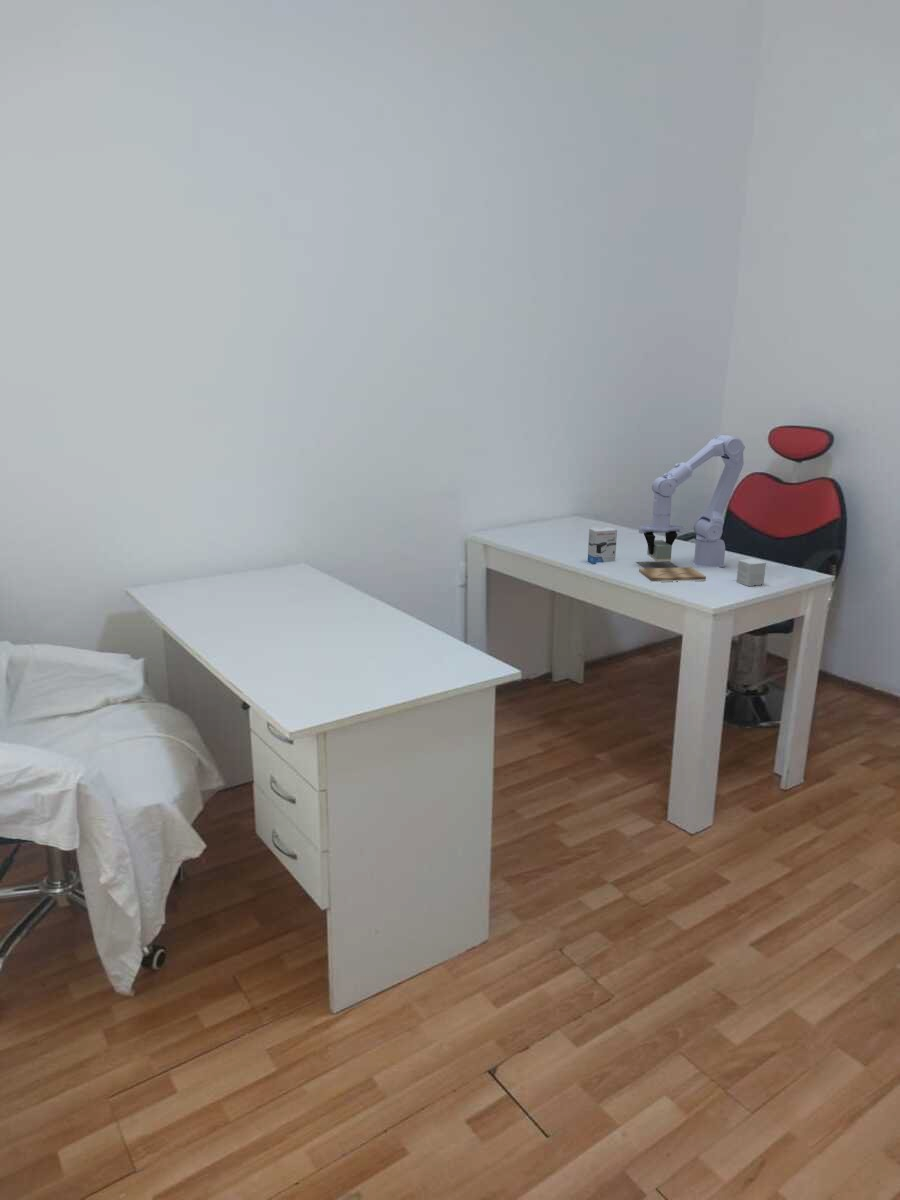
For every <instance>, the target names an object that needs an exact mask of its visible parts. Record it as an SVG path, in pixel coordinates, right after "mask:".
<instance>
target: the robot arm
mask: <svg viewBox="0 0 900 1200" xmlns="http://www.w3.org/2000/svg"><path fill="white" fill-rule="evenodd" d="M745 448H746V446H745V444H744V442H743V440H742V439H741V438H740V437H738V436H732V435H727V434H725V433H720V434H718V435H716V436H715V437H714V438H712V439H711V440H709V441H708V443H707V444H706V445H705V446H704V447H702V448H701V449H700V450H699V451H698V452H697V453H695V454H694V455H693V456H692V457H691V458H690V459H689V460H687V461H686V462H683V461H682V462H679V463H678V462H677V463H675V464H674V467H673V468H671V469H670V470H669V471H668V472H667V473H666V472H664V473H663V476H660V477H657V478H655V479H654V481H653V483H652V484H651V486H650V487H651V490H652V492H653V494H654V495H653V507H652V522H651V523H652V524H651V525H646V526H638V533H639V534H642V535H643V536H644V538H645V540H646V541H645V542H646V544H647V550H648V549H649V554H651V555H653V550H654V540H656V535H655V534H658V533H659V534H660V533H662V534H663V533H664V534H665V542H666V543H668V544H670V545H671V546H672V547H673V544H674V542H675V540H676V539H677V537H678V533H683V530H684V529H683V528H684V527H683V526H682V525H671V514H672V513H671V512H672V500H673V499H672V497H673V495H674V494H675V492H676V490H677V488H678V487H680V486H681V484H684V482H686V481H687V480H688V479H689V478H691V477H692V476H693V471H694V470H696V469H697V468H698V467H700V466H701V465H704V463H706V462H707V461H709V460H710V459H712V458H713V457H720V458H721V460H722V461H723V463H724V468H723V470H722V473H721V475H720V476H719V480H718V481H717V484H716V487H715V489H714V491H713V494H712V496H711V498H710V500H709V502H708V503H709V504H708V506H707V509H705V510H704V511H703V512H701V514H700V516H699V517H698V519H697V520H696V521H695V522H694V524H693V531H694V533H695V535H696V536H695V547H694V557H693V558H694V559H693V560H689V562H690V563H691V564H692V565H694V566H696V567H697V568H701V567H702V568H703V567H705V568H707V567H718V568H725V557H726V556H725V554H726V544H725V541H724V540H723V539H720V538H721V537H722V534H723V530H724V529H723V527H724V523H725V520H724V517H723V514H724V513H725V509H726V507H727V505H728V503H729V501H730V498H731V495H732V493H733V492H734V491H733V490H734V489H735V486H736V484H737V481H738V479H739V478H740V476H741V475H740V474H741V472H742V470H743V466H744V452H745Z"/></svg>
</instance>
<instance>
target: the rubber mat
mask: <svg viewBox="0 0 900 1200" xmlns="http://www.w3.org/2000/svg"><path fill="white" fill-rule="evenodd" d="M635 563H636V564H637V565H639V566H640V567H641V568H642V569H648V568H680V567H678V565H675V564H674V563H673V562H672V561H656V560H654V561H635Z"/></svg>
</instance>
